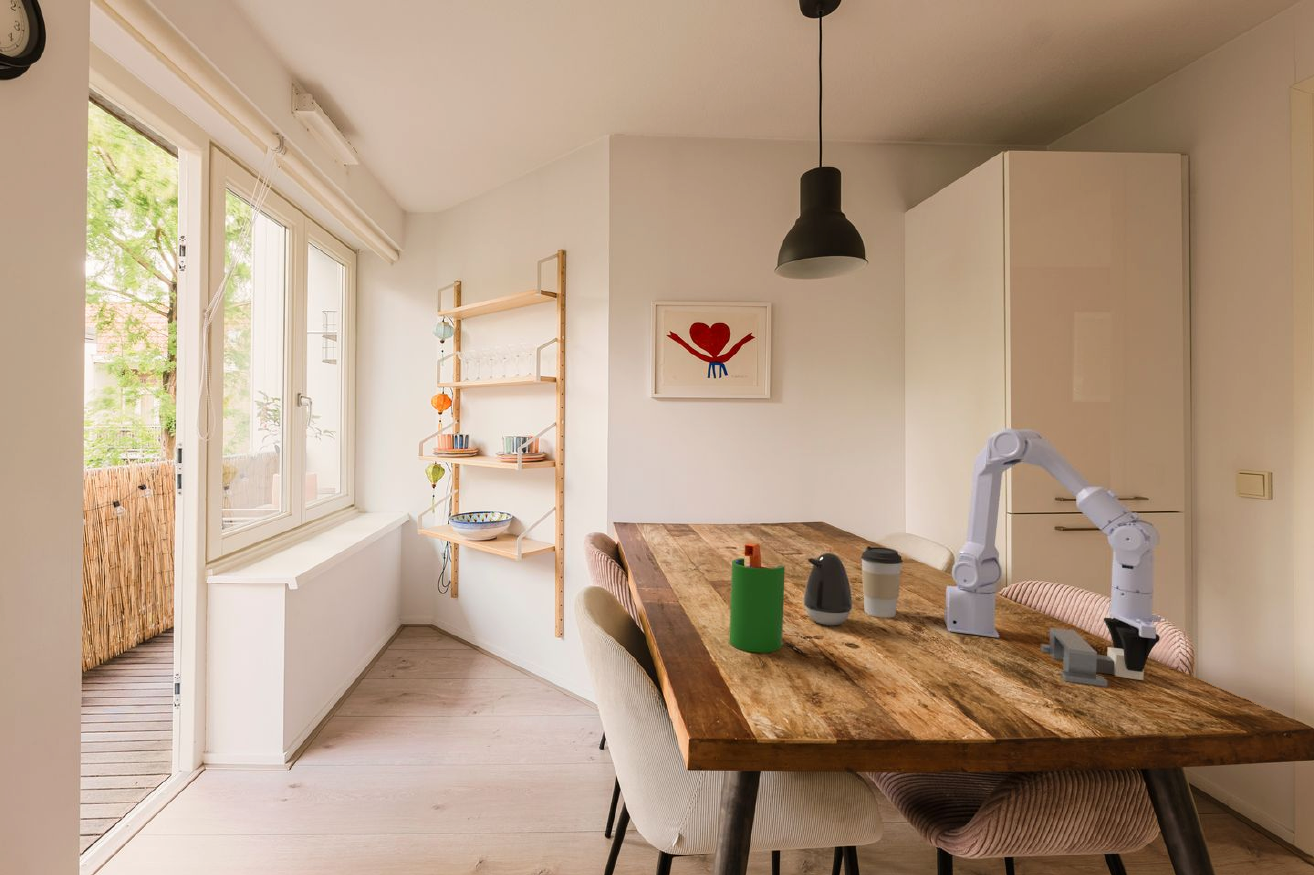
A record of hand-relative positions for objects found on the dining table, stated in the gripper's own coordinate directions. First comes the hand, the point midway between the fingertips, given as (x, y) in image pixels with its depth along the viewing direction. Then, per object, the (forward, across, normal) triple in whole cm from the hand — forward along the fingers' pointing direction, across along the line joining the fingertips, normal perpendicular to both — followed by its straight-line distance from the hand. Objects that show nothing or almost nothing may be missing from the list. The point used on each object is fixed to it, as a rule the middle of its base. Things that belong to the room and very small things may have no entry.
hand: (1129, 665), depth 104 cm
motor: (+2, -13, +64) cm, 65 cm away
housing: (+2, 0, +9) cm, 9 cm away
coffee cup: (+2, +19, +41) cm, 45 cm away
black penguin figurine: (+2, +7, +52) cm, 53 cm away
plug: (+2, 0, +3) cm, 3 cm away
